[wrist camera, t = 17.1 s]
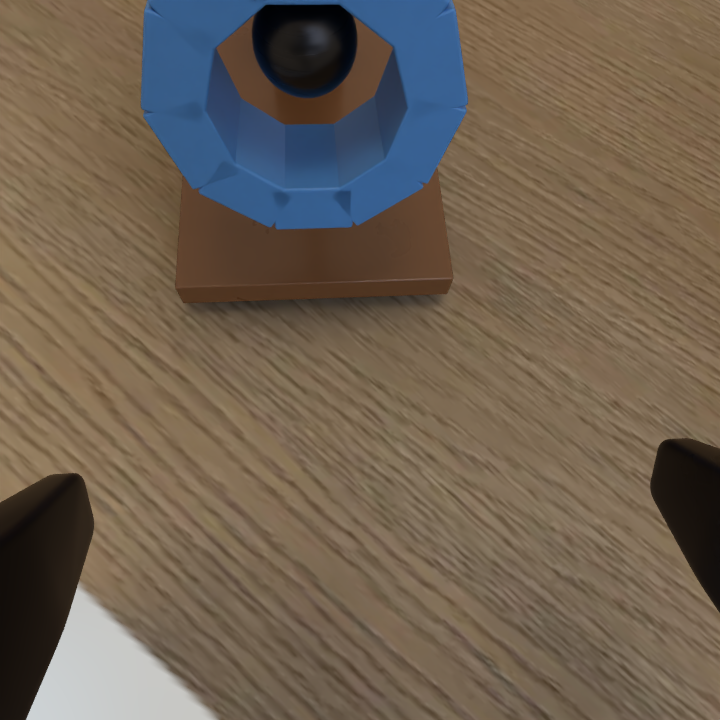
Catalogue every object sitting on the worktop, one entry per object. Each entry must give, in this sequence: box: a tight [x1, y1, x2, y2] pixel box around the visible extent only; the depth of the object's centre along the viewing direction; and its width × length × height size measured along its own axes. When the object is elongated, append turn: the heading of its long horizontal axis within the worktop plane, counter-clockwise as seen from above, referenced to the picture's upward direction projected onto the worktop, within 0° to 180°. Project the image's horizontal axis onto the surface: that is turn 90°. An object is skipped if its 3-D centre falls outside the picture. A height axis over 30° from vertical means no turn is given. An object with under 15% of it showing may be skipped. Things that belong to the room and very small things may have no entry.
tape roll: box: [141, 0, 468, 230], centre depth 14 cm, size 3×8×7 cm, turn 94°
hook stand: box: [175, 5, 453, 303], centre depth 18 cm, size 15×10×11 cm, turn 4°
